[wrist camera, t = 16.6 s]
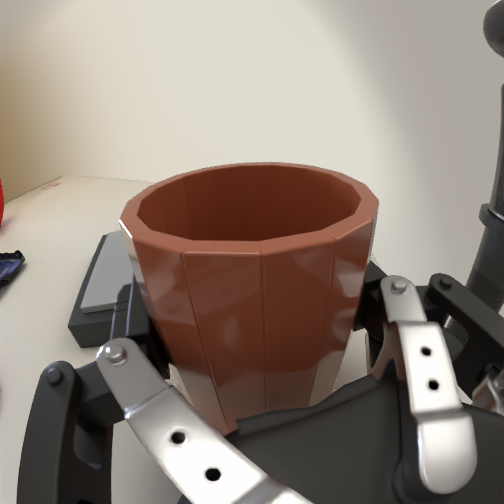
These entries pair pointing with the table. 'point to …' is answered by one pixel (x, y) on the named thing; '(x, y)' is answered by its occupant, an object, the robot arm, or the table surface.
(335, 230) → the cup
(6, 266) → the snack package
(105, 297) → the scale
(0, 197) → the ceramic cup
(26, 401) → the table surface
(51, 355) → the table surface
